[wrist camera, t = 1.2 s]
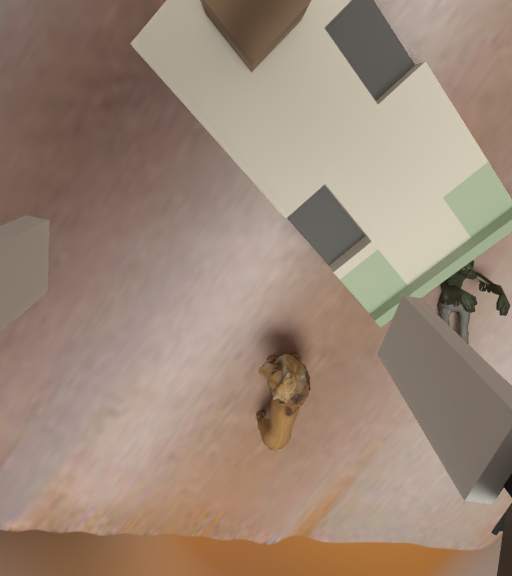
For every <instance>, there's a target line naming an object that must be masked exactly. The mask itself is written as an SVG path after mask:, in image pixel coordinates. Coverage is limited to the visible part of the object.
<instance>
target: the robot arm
mask: <svg viewBox="0 0 512 576" xmlns="http://www.w3.org/2000/svg"><path fill="white" fill-rule="evenodd" d="M48 263H49V220H47V219H42V218H37V217H32V216H28V215H25V216H23V217H21V218H18V219H16V220H13V221H11V222H8V223H6V224H3V225H1V226H0V332H1V331H2V330H3V329H4V328H6V327H7V326H8V325H9V324H10V323H12V322H13V321H14V320H15V319H16V318H17V317H19V316H20V315H21V314H22V313H23V312H24V311H26V310H27V309H28V308H29V307H30V306H32V305H33V304H34V303H35V302H36V301H37V300H39V299H40V298H41V297H42V296H43V295H45V294H46V293H47V292H48ZM378 355H379V357H380V359H381V361H382V362H383V364H384V366H385V367H386V369H387V371H388V372H389V374H390V376H391V377H392V379H393V381H394V383H395V384H396V386H397V388H398V389H399V391H400V393H401V394H402V396H403V398H404V399H405V401H406V403H407V405H408V406H409V408H410V410H411V411H412V413H413V415H414V416H415V418H416V420H417V421H418V423H419V425H420V426H421V428H422V430H423V432H424V433H425V435H426V437H427V438H428V440H429V442H430V443H431V445H432V447H433V448H434V450H435V452H436V454H437V455H438V457H439V459H440V460H441V462H442V464H443V465H444V467H445V469H446V470H447V472H448V474H449V475H450V477H451V479H452V481H453V482H454V484H455V486H456V487H457V489H458V491H459V492H460V494H461V496H462V497H463V499H464V501H468V502H475V503H482V504H489V505H492V504H493V503H494V501H495V500H496V498H497V497H498V495H499V494H500V492H501V491H502V489H503V488H505V489H506V490H507V492H508V493H509V494H510V496H511V497H512V386H511V385H510V384H509V383H508V382H507V381H506V380H505V379H504V378H503V377H502V376H501V375H500V374H498V373H497V372H496V371H495V370H494V369H493V368H492V367H491V366H490V365H489V364H488V363H487V362H486V361H485V360H484V359H483V358H482V357H481V356H480V355H479V354H478V353H477V352H476V351H475V350H474V349H473V348H472V347H471V346H470V345H469V344H467V343H466V342H465V341H464V340H463V339H462V338H461V337H460V336H459V335H458V334H457V333H456V332H455V331H454V330H453V329H452V328H451V327H450V326H449V325H448V324H447V323H446V322H445V321H444V320H443V319H442V318H441V317H440V316H439V315H437V314H436V313H435V312H434V311H433V310H432V309H431V308H430V307H429V306H428V305H427V304H426V303H425V302H424V301H423V300H422V299H421V298H416V297H411V296H406V295H402V298H401V300H400V303H399V305H398V307H397V310H396V312H395V314H394V317H393V319H392V321H391V324H390V326H389V329H388V331H387V333H386V336H385V338H384V340H383V343H382V345H381V348H380V350H379V352H378ZM499 531H503V537H502V543H501V551H500V558H499V565H498V572H497V576H512V503H511V505H510V506H509V508H508V509H507V511H506V512H505V513H504V515H503V516H502V518H501V519H500V520H499V522H498V523H497V525H496V526H495V527H494V529H493V531H492V533H493V534H494V535H497V534H498V532H499Z"/></svg>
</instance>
